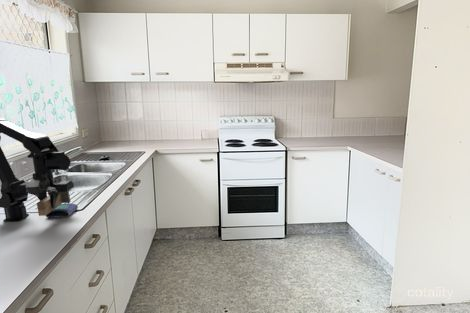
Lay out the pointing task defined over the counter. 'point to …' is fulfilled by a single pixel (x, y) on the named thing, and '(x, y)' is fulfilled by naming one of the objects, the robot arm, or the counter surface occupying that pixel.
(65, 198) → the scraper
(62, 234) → the counter surface
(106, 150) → the counter surface
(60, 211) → the blue painted container
